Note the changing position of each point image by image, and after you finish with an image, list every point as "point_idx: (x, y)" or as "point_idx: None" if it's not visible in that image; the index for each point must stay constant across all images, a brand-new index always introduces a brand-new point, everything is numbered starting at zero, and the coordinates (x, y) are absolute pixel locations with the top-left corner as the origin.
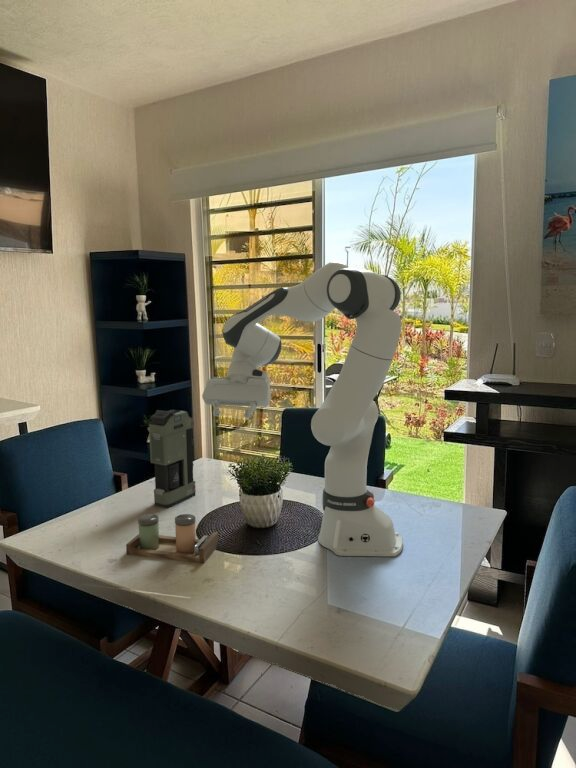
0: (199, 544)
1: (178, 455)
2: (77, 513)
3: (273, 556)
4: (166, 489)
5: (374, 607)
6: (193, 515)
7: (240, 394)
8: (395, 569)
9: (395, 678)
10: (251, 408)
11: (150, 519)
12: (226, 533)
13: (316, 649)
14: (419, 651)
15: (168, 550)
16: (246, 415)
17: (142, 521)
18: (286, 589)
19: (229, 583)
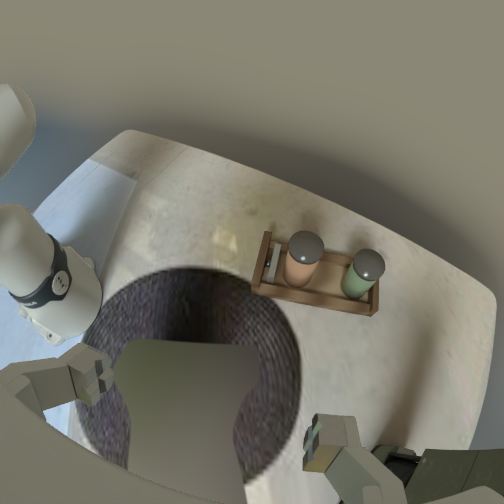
0: (274, 248)
1: (409, 496)
2: (482, 386)
3: (169, 262)
4: (394, 452)
5: (105, 180)
6: (295, 255)
7: (45, 486)
8: (58, 233)
9: (130, 131)
10: (42, 359)
11: (365, 258)
12: (242, 341)
13: (164, 142)
14: (105, 148)
15: (323, 276)
16: (97, 350)
17: (373, 251)
18: (167, 197)
19: (226, 206)
